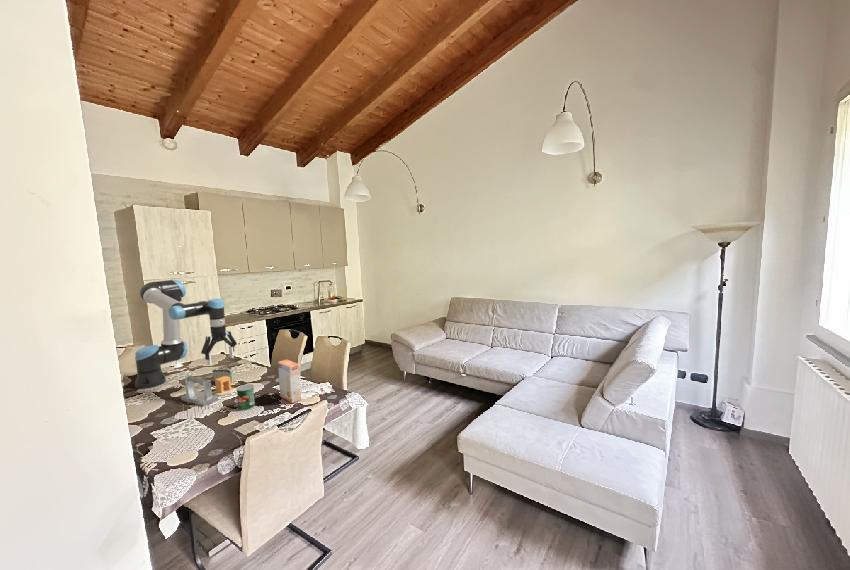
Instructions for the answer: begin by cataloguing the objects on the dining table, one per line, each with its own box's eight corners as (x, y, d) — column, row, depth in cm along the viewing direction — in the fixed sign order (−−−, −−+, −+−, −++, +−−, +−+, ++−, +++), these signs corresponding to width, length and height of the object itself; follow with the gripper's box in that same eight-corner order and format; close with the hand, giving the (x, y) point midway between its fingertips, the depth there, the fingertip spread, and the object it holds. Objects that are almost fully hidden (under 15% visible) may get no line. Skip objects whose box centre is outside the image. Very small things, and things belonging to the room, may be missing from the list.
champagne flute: (185, 364, 251) (182, 332, 248) (179, 367, 244) (175, 334, 241) (176, 364, 251) (172, 332, 248) (169, 368, 244) (166, 335, 241)
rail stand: (181, 399, 193) (179, 378, 192) (195, 394, 201) (193, 373, 199) (203, 406, 185) (201, 384, 183) (218, 400, 192) (216, 378, 191)
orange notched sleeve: (216, 391, 202) (215, 379, 201) (225, 387, 207) (224, 375, 206) (221, 393, 200) (220, 380, 199) (231, 389, 205) (230, 377, 204)
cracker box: (301, 400, 191) (299, 364, 188) (291, 404, 186) (289, 367, 184) (289, 393, 200) (287, 358, 198) (279, 396, 196) (277, 361, 193)
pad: (210, 393, 201) (210, 392, 201) (226, 386, 210) (226, 385, 210) (221, 396, 197) (221, 395, 197) (237, 389, 206) (237, 388, 206)
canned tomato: (236, 411, 179) (234, 391, 178) (240, 404, 187) (238, 385, 185) (253, 409, 181) (251, 389, 180) (256, 402, 189) (254, 383, 187)
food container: (238, 381, 219) (237, 366, 218) (231, 385, 213) (230, 369, 212) (220, 380, 220) (218, 365, 219) (213, 384, 214) (211, 369, 213)
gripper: (200, 331, 186) (203, 369, 189) (241, 321, 208) (244, 355, 211) (191, 330, 189) (195, 367, 192) (233, 320, 212) (236, 353, 214)
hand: (220, 361), depth 201 cm, fingers open, 13 cm apart
